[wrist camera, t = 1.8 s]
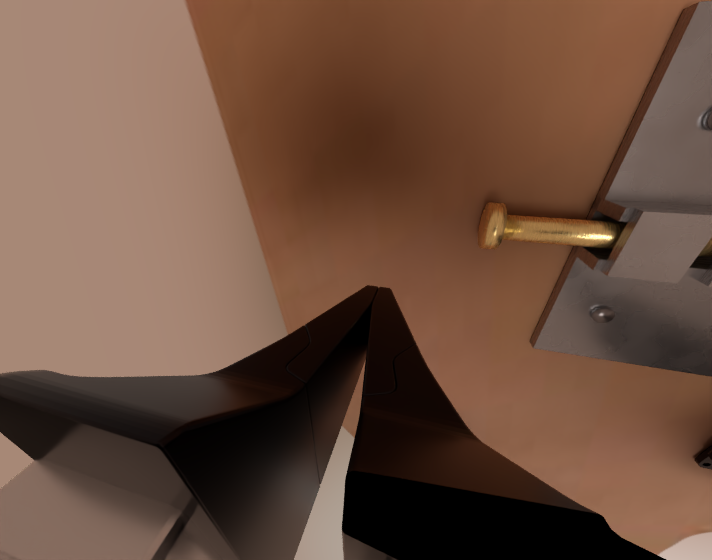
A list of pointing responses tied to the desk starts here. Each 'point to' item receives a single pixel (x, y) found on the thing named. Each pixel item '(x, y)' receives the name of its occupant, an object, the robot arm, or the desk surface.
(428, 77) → the desk surface
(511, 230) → the pin
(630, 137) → the hinge leaves
